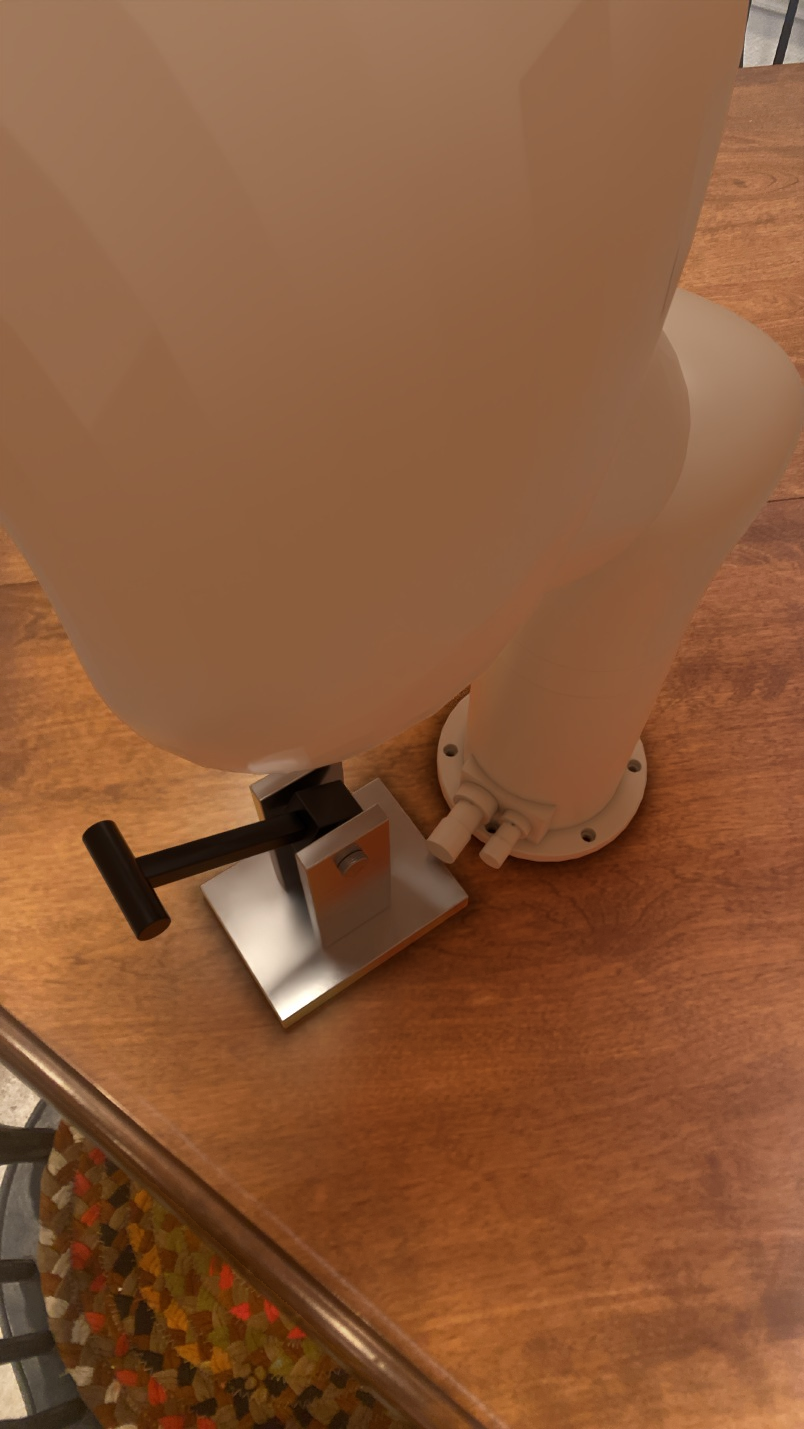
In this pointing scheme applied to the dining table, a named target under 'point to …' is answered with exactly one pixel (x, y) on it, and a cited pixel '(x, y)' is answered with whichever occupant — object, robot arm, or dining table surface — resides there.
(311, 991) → the bracket
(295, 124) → the robot arm
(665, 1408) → the dining table surface
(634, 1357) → the dining table surface
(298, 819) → the lever
